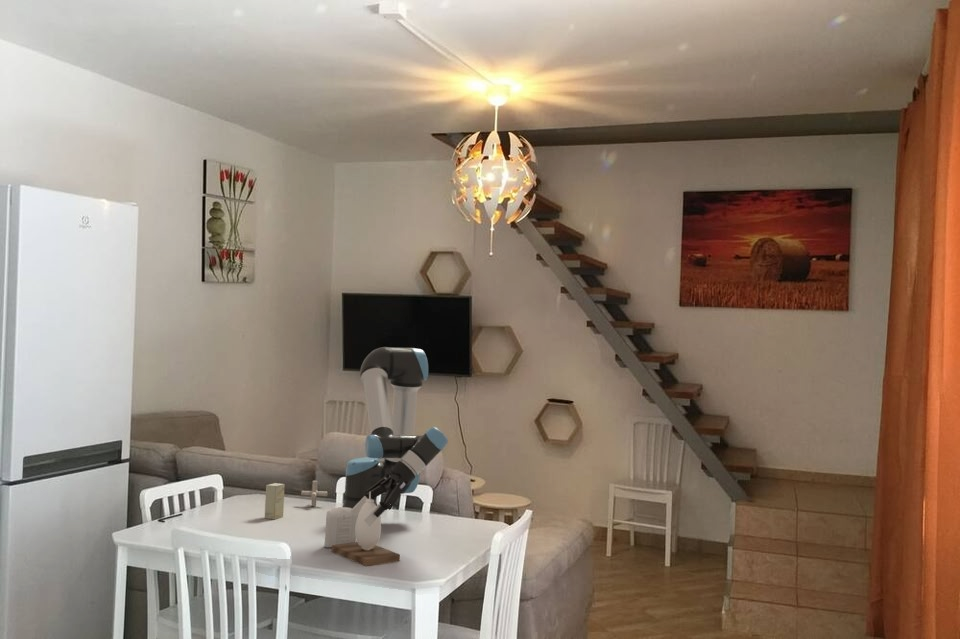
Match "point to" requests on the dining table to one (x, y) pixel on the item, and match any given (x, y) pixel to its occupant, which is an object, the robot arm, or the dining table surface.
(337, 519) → the beige engraved tablet
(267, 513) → the skincare box
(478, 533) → the dining table surface
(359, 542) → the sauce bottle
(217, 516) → the dining table surface
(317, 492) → the pipe connector
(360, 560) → the walnut board
